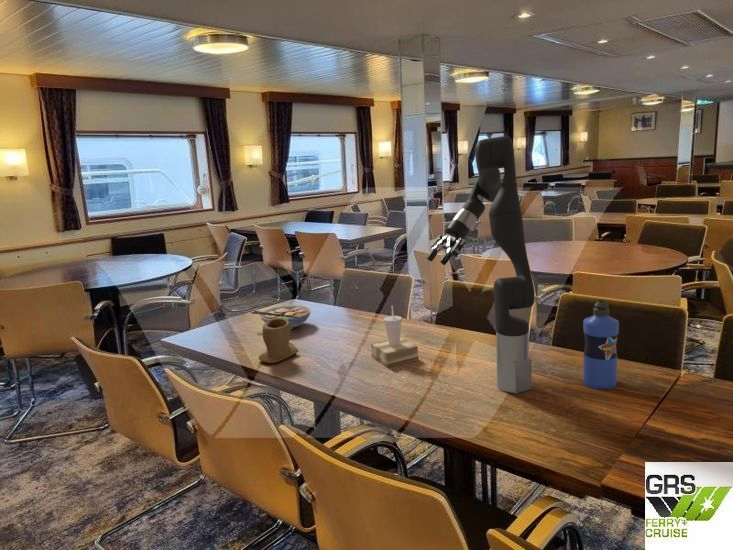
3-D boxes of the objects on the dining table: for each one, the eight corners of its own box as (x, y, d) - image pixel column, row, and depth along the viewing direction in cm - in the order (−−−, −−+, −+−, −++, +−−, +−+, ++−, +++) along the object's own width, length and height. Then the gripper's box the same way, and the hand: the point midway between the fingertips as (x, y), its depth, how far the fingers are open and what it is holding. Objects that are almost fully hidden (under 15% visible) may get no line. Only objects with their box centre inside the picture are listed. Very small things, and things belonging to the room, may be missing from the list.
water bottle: (575, 380, 161) (576, 300, 156) (600, 374, 164) (601, 295, 159) (599, 392, 152) (600, 307, 147) (624, 385, 156) (627, 302, 150)
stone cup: (276, 368, 188) (271, 327, 185) (254, 362, 196) (249, 322, 193) (307, 354, 200) (303, 315, 196) (285, 349, 207) (281, 311, 204)
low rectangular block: (418, 359, 186) (417, 346, 185) (387, 367, 181) (386, 353, 180) (401, 349, 197) (400, 336, 196) (371, 357, 192) (370, 343, 191)
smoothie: (403, 341, 191) (401, 303, 188) (403, 347, 185) (401, 308, 182) (385, 342, 192) (383, 304, 189) (384, 348, 186) (382, 309, 183)
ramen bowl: (325, 322, 237) (324, 305, 235) (292, 339, 218) (290, 319, 217) (282, 317, 250) (280, 300, 249) (247, 332, 232) (245, 314, 230)
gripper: (443, 217, 193) (417, 252, 191) (467, 219, 181) (439, 258, 178) (456, 229, 197) (431, 265, 194) (480, 233, 184) (453, 271, 182)
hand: (435, 261), depth 186 cm, fingers open, 8 cm apart
